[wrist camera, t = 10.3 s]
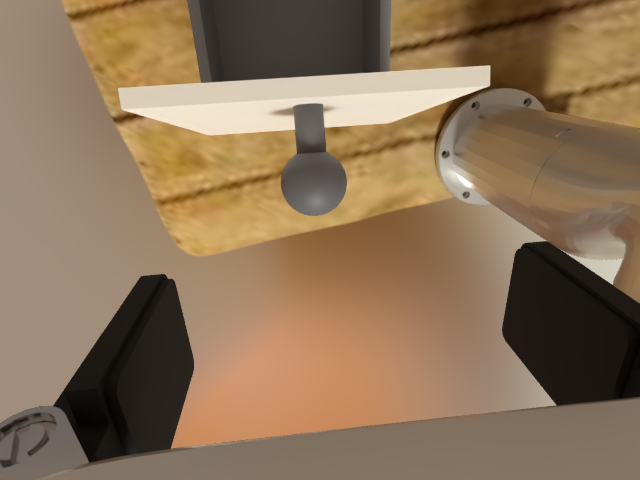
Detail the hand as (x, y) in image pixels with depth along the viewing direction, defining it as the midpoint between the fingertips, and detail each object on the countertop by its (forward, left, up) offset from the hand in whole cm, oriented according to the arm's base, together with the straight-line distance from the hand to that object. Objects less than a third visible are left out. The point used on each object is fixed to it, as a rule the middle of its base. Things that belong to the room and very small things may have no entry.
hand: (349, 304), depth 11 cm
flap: (0, -4, -16) cm, 17 cm away
